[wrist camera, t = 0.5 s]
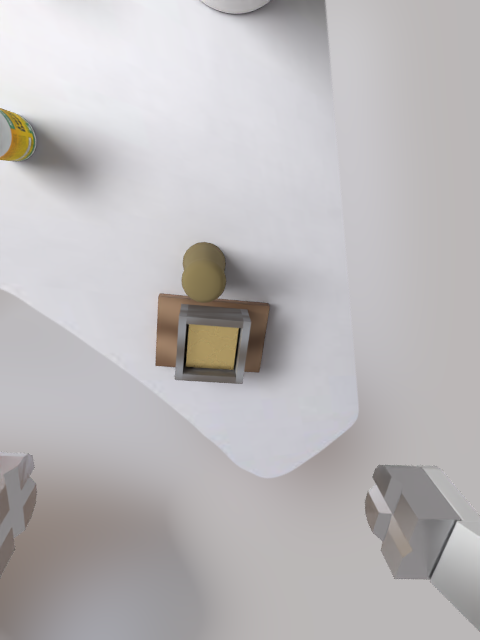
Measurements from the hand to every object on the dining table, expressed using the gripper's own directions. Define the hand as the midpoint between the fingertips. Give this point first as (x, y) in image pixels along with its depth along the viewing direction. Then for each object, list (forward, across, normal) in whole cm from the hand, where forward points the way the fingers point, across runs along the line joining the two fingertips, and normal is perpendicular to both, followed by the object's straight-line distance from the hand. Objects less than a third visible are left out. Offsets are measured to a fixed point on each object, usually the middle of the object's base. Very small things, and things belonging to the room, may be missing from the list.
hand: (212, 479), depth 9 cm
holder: (+44, -2, +15) cm, 46 cm away
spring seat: (+40, -2, +15) cm, 43 cm away
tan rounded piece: (+44, 0, +4) cm, 44 cm away
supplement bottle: (+44, +24, -9) cm, 51 cm away
